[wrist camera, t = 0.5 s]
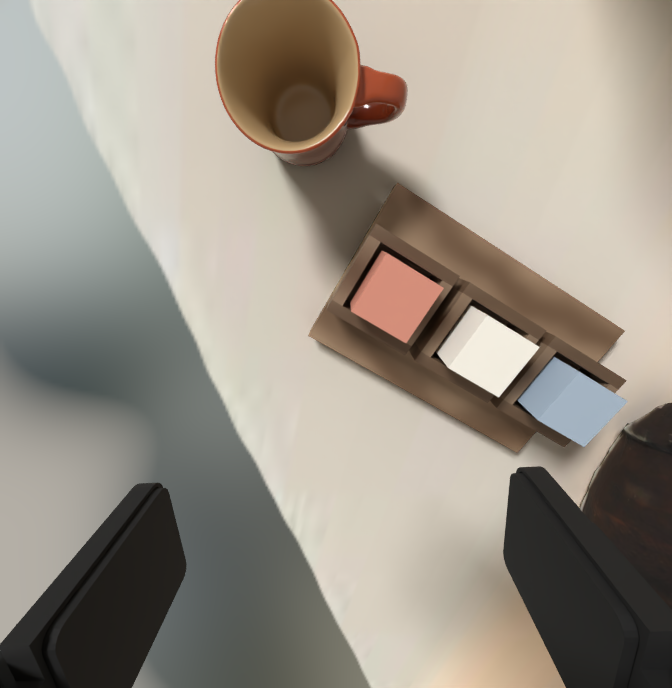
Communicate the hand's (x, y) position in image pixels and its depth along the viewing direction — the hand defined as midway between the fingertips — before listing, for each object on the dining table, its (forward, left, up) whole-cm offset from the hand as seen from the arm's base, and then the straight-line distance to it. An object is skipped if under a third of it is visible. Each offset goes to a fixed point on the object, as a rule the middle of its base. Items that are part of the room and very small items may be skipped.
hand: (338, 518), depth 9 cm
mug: (-13, -10, -28) cm, 32 cm away
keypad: (-4, +11, -27) cm, 30 cm away
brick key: (-4, +2, -22) cm, 23 cm away
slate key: (-4, +20, -22) cm, 30 cm away
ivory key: (-4, +11, -22) cm, 25 cm away
